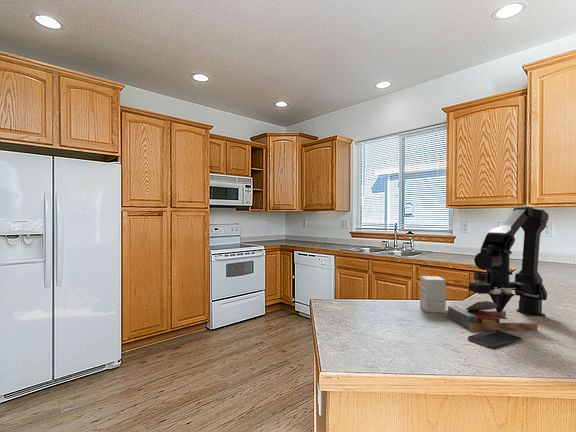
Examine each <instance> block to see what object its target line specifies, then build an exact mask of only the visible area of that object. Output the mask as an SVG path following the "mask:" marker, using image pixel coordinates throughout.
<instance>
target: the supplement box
mask: <svg viewBox="0 0 576 432" xmlns="http://www.w3.org/2000/svg"><path fill="white" fill-rule="evenodd" d="M419 279H420V283H419V286H420V287H419V289H420V290H419V292H420V293H419V295H420V297H419V298H420V299H419V307H420V308H421V309H422V310H423V311H424V312H426V313H441V314H442V313H444V314H446V308H447V307H446V305H447V303H446V301H447V297H446V296H447V295H446V294H447V293H446V292H447V287H446V286H447V284H446V283H447V280H446V279H444V278H443V277H440V276H437V275H436V276H435V275H434V276H432V275H430V276H429V275H420V278H419Z"/></svg>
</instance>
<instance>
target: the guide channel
mask: <svg viewBox="0 0 576 432" xmlns="http://www.w3.org/2000/svg"><path fill="white" fill-rule="evenodd" d="M464 310H465V311H468V310H466V309H464ZM482 311H488V312H492V313H495V314H497V315H499V316H500V318H506V317H507V311H506V310H504V309H503V311H502V312H501V313H498V312H497V311H496V309H495V310H494V309H490V310H482ZM445 316H446V317H447V318H448V309H447V310H446V313H445ZM468 330H469V331H471V332H476V331H477V332H480V331H481V332H489V331H493V330H499V331H503V332H505V331H515V332H516V331H538V323H536V322H500V323H469V329H468Z"/></svg>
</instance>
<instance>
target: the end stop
mask: <svg viewBox="0 0 576 432" xmlns="http://www.w3.org/2000/svg"><path fill="white" fill-rule="evenodd" d="M447 310H448V317H447V318H449V319H450V320H452V321H453V322H456V323H457V324H459V325H461V326H463V327H464V328H466V329H468V330H470V329H469V323H478V316H476V315H473V314H471V313H469V312H467V311H465V310H466V309H463V308H461V307H458V306H456V305H448V306H447Z"/></svg>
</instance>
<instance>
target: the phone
mask: <svg viewBox="0 0 576 432" xmlns="http://www.w3.org/2000/svg"><path fill="white" fill-rule="evenodd" d="M467 341H469V342H471V343H474V344H477V345H479V346H481V347H484V348H487V349H491V350H496V349H499V348H503V347H507V346H511V345H514V344H518V343H521V342H523V338H522V337H520V336H519V335H515V334H512V333H510V332H505V331H499V330H493V331H483V332H480V333H477V334H472V335H469V336H467Z"/></svg>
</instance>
